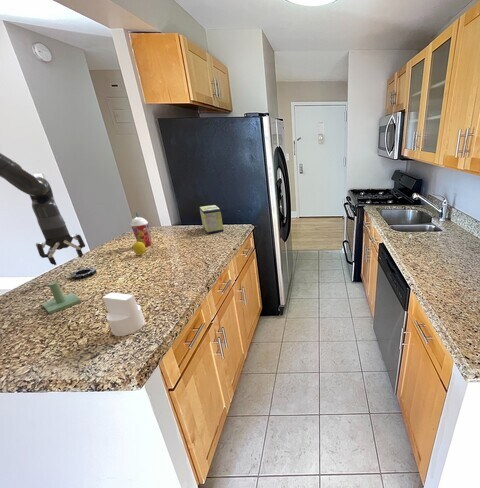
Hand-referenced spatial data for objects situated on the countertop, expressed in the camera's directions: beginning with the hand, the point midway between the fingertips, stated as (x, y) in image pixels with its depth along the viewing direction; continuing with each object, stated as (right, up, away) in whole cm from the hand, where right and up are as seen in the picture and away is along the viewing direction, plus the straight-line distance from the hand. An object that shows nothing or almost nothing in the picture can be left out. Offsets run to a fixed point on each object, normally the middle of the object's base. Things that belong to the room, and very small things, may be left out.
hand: (68, 260), depth 114 cm
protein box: (+36, +17, +65) cm, 76 cm away
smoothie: (+7, +6, +39) cm, 40 cm away
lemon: (+14, +1, +26) cm, 30 cm away
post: (+13, -16, -15) cm, 26 cm away
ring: (+2, -7, +6) cm, 9 cm away
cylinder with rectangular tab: (+48, -20, -27) cm, 59 cm away
